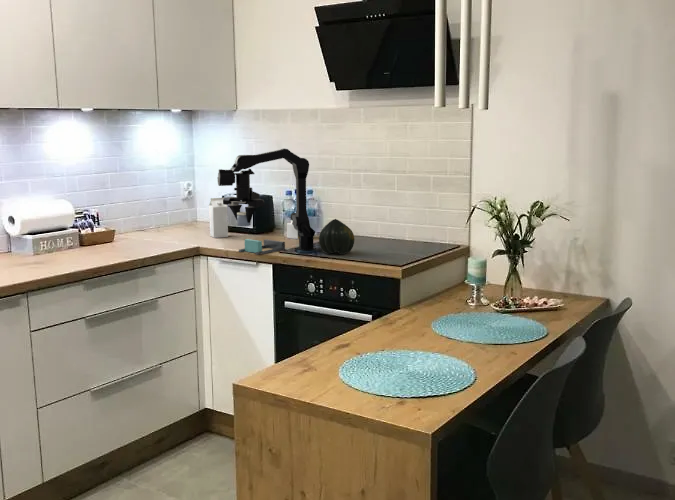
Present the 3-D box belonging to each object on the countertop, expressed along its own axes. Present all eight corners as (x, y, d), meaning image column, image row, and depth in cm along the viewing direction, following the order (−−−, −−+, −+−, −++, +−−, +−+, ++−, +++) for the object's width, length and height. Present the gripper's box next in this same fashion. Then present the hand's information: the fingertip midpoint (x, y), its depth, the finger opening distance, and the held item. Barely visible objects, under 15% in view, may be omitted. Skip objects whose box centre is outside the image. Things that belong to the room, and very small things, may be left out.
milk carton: (210, 236, 364) (208, 197, 360) (224, 235, 367) (222, 197, 363) (213, 238, 357) (212, 199, 354) (228, 237, 360) (226, 198, 357)
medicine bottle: (298, 239, 352) (297, 214, 350) (286, 238, 356) (286, 213, 354) (307, 237, 357) (307, 212, 355) (296, 236, 361) (295, 211, 359)
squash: (339, 245, 300) (350, 214, 307) (308, 243, 308) (320, 214, 315) (353, 263, 311) (363, 234, 317) (323, 261, 318) (334, 233, 325)
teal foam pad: (248, 250, 320) (248, 239, 320) (262, 252, 315) (261, 241, 314) (244, 251, 319) (244, 239, 318) (258, 253, 313) (258, 241, 312)
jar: (242, 226, 309) (242, 213, 308) (234, 225, 313) (234, 212, 312) (253, 225, 313) (253, 212, 312) (245, 223, 317) (244, 211, 316)
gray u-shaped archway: (266, 246, 330) (266, 239, 330) (284, 249, 322) (284, 241, 322) (238, 251, 318) (238, 243, 318) (257, 254, 311) (257, 246, 310)
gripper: (272, 185, 311) (273, 221, 314) (239, 183, 322) (240, 218, 324) (254, 186, 302) (255, 224, 305) (221, 184, 313) (222, 221, 316)
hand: (243, 222), depth 313 cm, fingers closed on jar, 6 cm apart
